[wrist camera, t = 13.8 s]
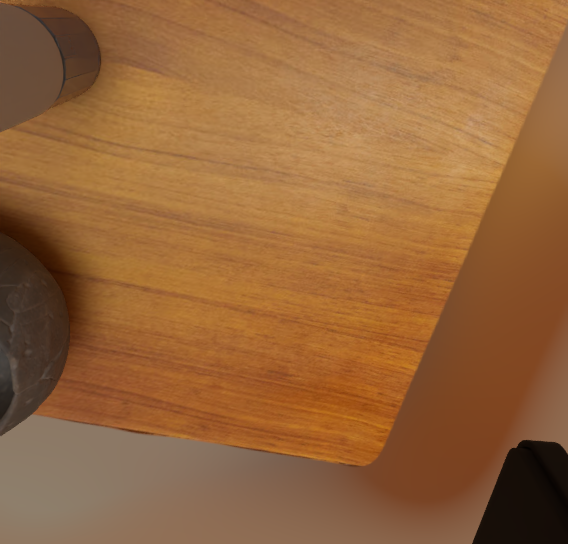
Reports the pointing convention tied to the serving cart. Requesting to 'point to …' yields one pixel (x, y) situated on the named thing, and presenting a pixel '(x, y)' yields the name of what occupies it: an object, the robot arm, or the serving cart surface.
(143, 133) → the serving cart surface
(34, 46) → the beverage can
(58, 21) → the cup
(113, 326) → the serving cart surface
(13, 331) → the bowl
